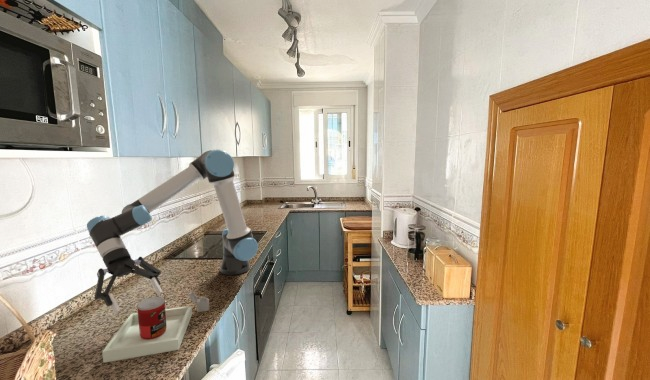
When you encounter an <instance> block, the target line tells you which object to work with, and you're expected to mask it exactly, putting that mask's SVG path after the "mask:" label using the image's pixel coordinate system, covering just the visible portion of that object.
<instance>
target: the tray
mask: <svg viewBox="0 0 650 380" xmlns="http://www.w3.org/2000/svg"><path fill="white" fill-rule="evenodd" d="M192 307H193V306H192V305H187V306H179V307H173V308H165V311H166V326H167V327H166V331H165V332H164V333H163V334H162V335H161V336H159V337H157V338H154V339H149V340H146V339H142V338H141V336H140V332H139V321H138V312H134V313H130V315H129V316H128V318H127V319H126V320H125V321H124V322H123V324H122V325H121V326H120V328H119V329H118V330H117V332H116V333H115V334H114V336H113V337H112V338H111V340H110V341H109V342H108V344H107V345H106V346H104V347H105V348H104V349H103V350H102V351H101V353H102V355H101V356H102V362H103V363H108V362H110V363H111V362H115V361H121V360H127V359H133V358H139V357H145V356H152V355H157V354H161V353H163V354H164V353H167V352H175V351H180V347H181V345H182V342H183V340H184V337H185V335H186V332H187V328H188V326H189V323H190V321H191V317H192V315H193V310H192Z"/></svg>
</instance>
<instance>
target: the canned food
mask: <svg viewBox="0 0 650 380" xmlns="http://www.w3.org/2000/svg"><path fill="white" fill-rule="evenodd" d="M165 301H166V300H165V298H164V297H162V296H150V297H147V298H145V299H143V300H140V302H138V303H137V306H136V308H137V313H138V321H139V332H140V336H141V338H142V339H146V340H149V339H154V338H157V337H159V336H161V335H162V334H163V333H164V332H165V331H166V327H167V326H166V311H165V309H166V302H165Z"/></svg>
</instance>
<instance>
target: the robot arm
mask: <svg viewBox="0 0 650 380" xmlns="http://www.w3.org/2000/svg"><path fill="white" fill-rule="evenodd" d="M234 168H235V162H234V158H233V157H232V155H231V154H230V153H229V152H227V151H225V150H223V149H217V148H216V149H212V150H207V151H205V152H203V153H202V154H200V155H199V156H198V157H197V158H195V159H194V160H193V161H191V162H190V163H189V164H188V167H186V168H185V169H182V171H180V172H178V173H177V174H175V175H174V176H172V177H170V178H169V179H167V180H166V181H164V182H163V183H161V184H160V185H158V186H157V187H155V188H154V189H152V190H150V191H149V192H147V193H146V194H143V196H141V197H140V198H138V199H137V200H135V201H133V202H131V203H129V204H126V206H124V207H123V208H122V210H121V213H119V214H117V215H115V216H113V217H110V216H108V215H100V216H95V217H93V218H92V219H90V220H89V221H88V222H87V224H86V229H87V230H88V233H89V237H90V238H91V239H92V240H91V241H92V242H93V243H94V245H95V247H96V249H97V251H98V253H99V255H100V257H101V258H102V262H103V264H104V265H105V267H106V268H99V269H98V271H97V273H96V276H97V283H96V286H95V287H96V288H95V293H94V300H99V299H100V300H103V301H104V303H105V305H106V307H111V309H112V311H113V313H114V315H115V316H116V315H118V314H119V313H120V311H121V308H120V306H119V304H118V303H117V301H116V299H115V296H114V294H113V293H112V292H111V293H110V291H111V289H112V287H113V285H114V283H115V282H116V281H115V280H116V279H117V278H123V277H124V276H128V275H130V274H133V275H137V276H140V277H143V278H147V279H149V280H150V281H149V282H150V284H151V286H152V288H153V290H154V291H155V293H156V295H157V297H161V295H162V294H163V289H162V288H161V286H160V285H161V281H160V279H159V276H160V274H161V273H162V271H161V270H159V269H158V268H156V267H155V266H153V265H152V264H150V263H149V262H147V261H146V260H145V259H144V257H142V256H139V257H138V258H136V259H132V255H131V254H130V252H129V250H128V249H127V247H126V245H125V243H124V241H123V239H122V237H121V236H122V235H125V234H127V233H129V232H131V231H133V230H135V229H137V228H140V227H142V226H145V225H146V224H148V223H149V222H151V221H152V219H153V218H152V216H151V213H152V212H154V210H157V209H158V208H159V207H161V206H162V205H164V204H166V203H167V202H168V201H170V200H171V199H173V198H174V197H175V196H177V195H179V194H180V193H181V192H183V191H185V190H186V189H188V188H189V187H191V186H192V185H194V184H195V183H196V182H198V181H199V180H201V181H202V180H205V179H206V178H207V180H208V183H209V184H211V185H213V187H214V189H215V195H216V197H217V201H218V202H219V206H220V210H221V212H222V215H223V218H224V222H225V225H226V228H224V229H223V230H222V235H221V236H222V237H221V238H222V255H223V257H222V260H221V264H220V267H219V269H220V273H221V274H223V275H227V276H235V275H241V274H244V273H246V272H248V271H249V270H250V268H251V266H250V261H249V260H251V259H253V258H254V257H255V256H256V254H257V253H258V251H259V250H258V249H259V244H258V242H257V240H256V239H255V238H254V236H253V235H254V234H253V232H252V229H251V227H248V226H247V224H246V220H245V216H244V213H243V210H242V207H241V204H240V200H239V197H238V193H237V190H236V185H235V183H234V179H235V177H236V174H235V171H234ZM107 273H108V274H110V275H112V276H111V277H110V280H109V282H108V284H107V286H106V288H105V290H104V292H102V291H103V287H104V280H105V276H106V274H107Z"/></svg>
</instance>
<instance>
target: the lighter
mask: <svg viewBox="0 0 650 380" xmlns="http://www.w3.org/2000/svg"><path fill="white" fill-rule="evenodd" d="M187 295H188V297H189V299H190V301H192V303H193V304H195V303H196V307H197V309H196V310H197V313H201V312H207V311H208V312H209V311H210V298H207V297H206V296H201V297H200V298H198V297H197V296H196V295H195V293H194V292H193V291H190V292H189V293H188V294H187Z"/></svg>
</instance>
